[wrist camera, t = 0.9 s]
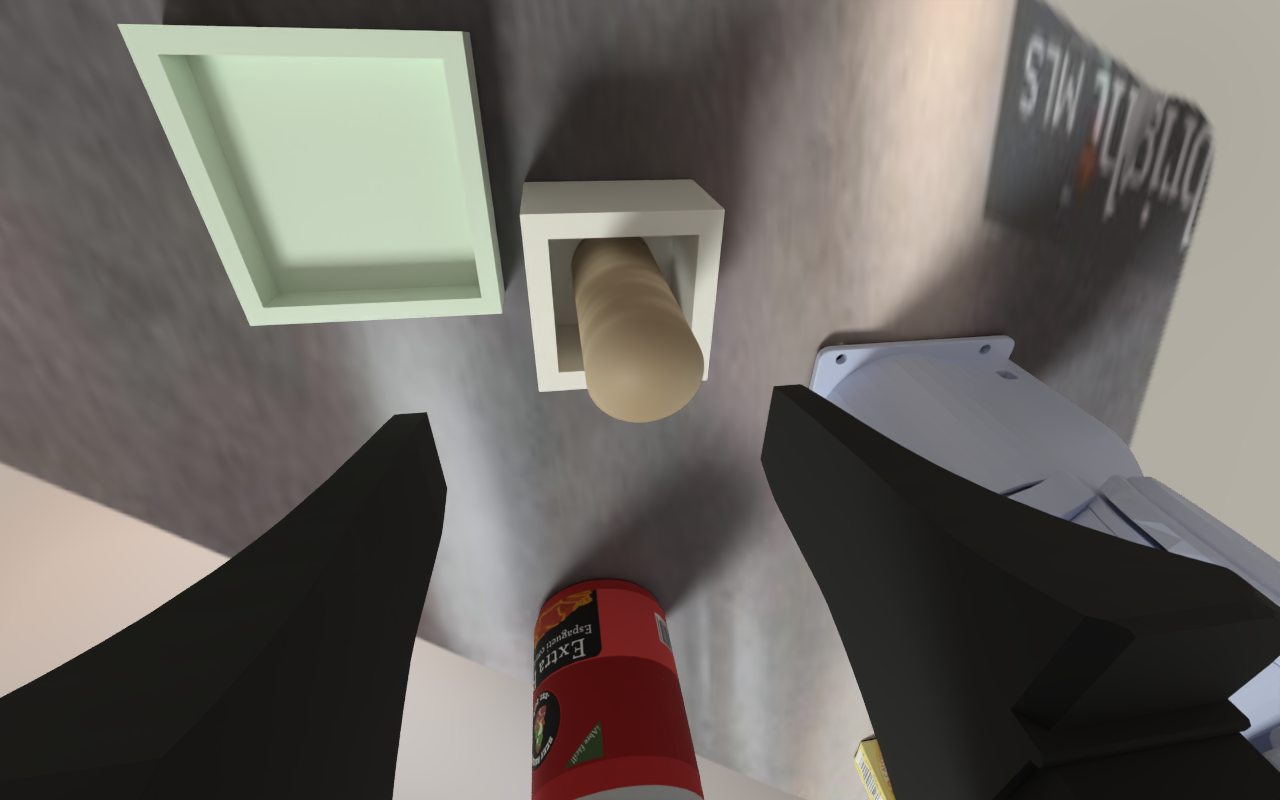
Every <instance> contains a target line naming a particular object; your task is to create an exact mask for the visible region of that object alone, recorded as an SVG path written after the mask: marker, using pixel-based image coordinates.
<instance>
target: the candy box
mask: <svg viewBox="0 0 1280 800" xmlns="http://www.w3.org/2000/svg"><path fill="white" fill-rule="evenodd" d="M854 763H855V766H856V768H857V770H858V772H859V775H860V777H861V779H862V782H863V784H864V786H865V788H866V791H867V793H868V795H869V797H870V800H895V797H894V794H893V790H892V787H891V784H890V780H889V777H888V774H887V770H886V767H885V764H884V761H883V757H882V754H881V751H880V748H879V745H878V742H877V739H874V740H870V741H864V742H861V744H860V746H859V749H858V751H857V754H856V756H855V758H854Z"/></svg>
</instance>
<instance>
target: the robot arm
mask: <svg viewBox="0 0 1280 800" xmlns="http://www.w3.org/2000/svg"><path fill="white" fill-rule="evenodd" d="M1014 344H1015V343H1014V340H1013V339H1011V338H1010V337H1008V336H1006V335H999V336H983V337H967V338H951V339H935V340H919V341H903V342H887V343H871V344H855V345H838V346H828V347H825V348H823V349H821V350H820V351H819V353H818V354H817V357H816V361H815V365H814V369H813V374H812V378H811V382H810V386H809V388H807V387H805V386H803V385H801V384H799V385H786V386H774V387H773V393H772V399H771V404H770V410H769V415H768V421H767V427H766V432H765V438H764V443H763V449H762V455H761V462H762V465H763V468H764V471H765V474H766V477H767V480H768V483H769V486H770V488H771V491H772V494H773V497H774V499H775V501H776V503H777V505H778V507H779V509H780V511H781V513H782V515H783V517H784V519H785V521H786V523H787V525H788V527H789V529H790V531H791V533H792V535H793V537H794V539H795V541H796V542H797V544H798V546H799V548H800V550H801V552H802V554H803V556H804V558H805V560H806V562H807V564H808V566H809V568H810V569H811V571H812V573H813V575H814V577H815V579H816V581H817V583H818V585H819V587H820V589H821V591H822V593H823V596H824V598H825V600H826V602H827V604H828V607H829V609H830V612H831V614H832V617H833V619H834V622H835V624H836V627H837V630H838V632H839V635H840V637H841V640H842V642H843V645H844V647H845V650H846V653H847V656H848V658H849V661H850V664H851V667H852V669H853V672H854V675H855V678H856V680H857V683H858V686H859V689H860V691H861V694H862V697H863V700H864V703H865V706H866V709H867V712H868V715H869V718H870V721H871V724H872V727H873V730H874V733H875V736H876V739H877V742H878V745H879V748H880V751H881V754H882V757H883V761H884V764H885V767H886V770H887V774H888V777H889V780H890V784H891V787H892V790H893V794H894V797H895V800H1280V562H1278V561H1277V560H1276V559H1274V558H1273V557H1271V556H1270V555H1268V554H1267V553H1266V552H1264V551H1263V550H1261V549H1260V548H1258V547H1257V546H1256V545H1254V544H1253V543H1251V542H1250V541H1248V540H1247V539H1245V538H1244V537H1243V536H1241V535H1240V534H1238V533H1237V532H1235V531H1234V530H1232V529H1231V528H1229V527H1228V526H1226V525H1225V524H1223V523H1222V522H1221V521H1219V520H1218V519H1216V518H1215V517H1213V516H1212V515H1210V514H1209V513H1207V512H1206V511H1204V510H1203V509H1201V508H1200V507H1198V506H1197V505H1195V504H1194V503H1192V502H1191V501H1189V500H1188V499H1186V498H1185V497H1183V496H1182V495H1180V494H1178V493H1177V492H1175V491H1174V490H1172V489H1171V488H1169V487H1167V486H1166V485H1164V484H1163V483H1161V482H1159V481H1157V480H1156V479H1154V478H1152V477H1144V476H1143V474H1142V471H1141V469H1140V467H1139V464H1138V462H1137V461H1136V459H1135V457H1134V455H1133V453H1132V452H1131V451H1130V449H1129V448H1128V447H1127V445H1126V444H1125V443H1124V441H1123V440H1122V439H1121V438H1120V437H1119V436H1118V435H1117V434H1116V433H1114V432H1113V431H1112V430H1111V429H1110V428H1108V427H1107V426H1106V425H1104V424H1103V423H1101V422H1100V421H1098V420H1097V419H1095V418H1094V417H1092V416H1091V415H1089V414H1088V413H1087V412H1085V411H1084V410H1082V409H1081V408H1079V407H1078V406H1076V405H1075V404H1073V403H1072V402H1071V401H1069V400H1068V399H1066V398H1065V397H1063V396H1062V395H1060V394H1059V393H1057V392H1056V391H1054V390H1053V389H1052V388H1050V387H1049V386H1047V385H1046V384H1044V383H1043V382H1041V381H1040V380H1038V379H1037V378H1035V377H1034V376H1033V375H1031V374H1030V373H1028V372H1027V371H1025V370H1024V369H1022V368H1021V367H1019V366H1018V365H1017V364H1015V363H1014V362H1012V361H1011V360H1009V356H1010V354H1011V352H1012V350H1013V348H1014ZM983 346H984V347H983ZM982 347H983V348H982ZM981 348H982V349H981ZM841 354H843V355H842V357H841V358H840V359H838V360H836V358H837V357H838V356H839V355H841ZM446 494H447V486H446V482H445V479H444V475H443V471H442V468H441V464H440V460H439V456H438V453H437V449H436V445H435V441H434V438H433V434H432V430H431V426H430V423H429V419H428V415H427V412H424V413H411V414H398V415H394V416H393V417H392V418H391V419H389V420H388V421H387V422H386V423H385V424H384V425H383V426H382V427H381V428H380V429H379V430H378V431H377V432H376V433H375V434H374V435H373V436H372V437H371V438H370V439H369V440H368V441H367V442H366V443H365V444H364V445H363V446H362V447H361V448H360V449H359V450H358V451H357V452H356V453H355V454H354V455H353V456H352V457H351V458H350V459H348V460H347V461H346V462H345V463H344V464H343V465H342V466H341V467H340V468H339V469H338V470H337V471H336V472H335V473H334V474H333V475H332V476H331V477H330V478H329V479H328V480H326V481H325V482H324V483H323V484H322V485H321V486H320V487H319V488H317V489H316V490H315V491H314V492H313V493H312V494H311V495H309V496H308V497H307V498H306V499H305V500H304V501H303V502H301V503H300V504H299V505H298V506H297V507H296V508H295V509H293V510H292V511H291V512H290V513H289V514H288V515H287V516H285V517H284V518H283V519H282V520H281V521H280V522H278V523H277V524H276V525H275V526H273V527H272V528H271V529H270V530H268V531H267V532H266V533H265V534H263V535H262V536H261V537H259V538H258V539H257V540H256V541H254V542H253V543H252V544H250V545H249V546H248V547H246V548H245V549H243V550H242V551H241V552H239V553H238V554H237V555H235V556H234V557H233V558H231V559H230V560H229V561H227V562H226V563H225V564H223V565H222V566H220V567H219V568H218V569H216V570H215V571H213V572H212V573H210V574H209V575H207V576H206V577H204V578H203V579H201V580H200V581H198V582H197V583H195V584H194V585H192V586H190V587H189V588H187V589H186V590H184V591H183V592H181V593H180V594H178V595H177V596H175V597H174V598H172V599H171V600H169V601H168V602H166V603H165V604H163V605H162V606H160V607H159V608H157V609H156V610H154V611H153V612H151V613H150V614H148V615H146V616H145V617H143V618H141V619H140V620H139V621H137V622H135V623H133V624H131V625H130V626H128V627H126V628H125V629H123V630H122V631H120V632H118V633H116V634H115V635H113V636H112V637H110V638H108V639H106V640H105V641H103V642H101V643H100V644H98V645H96V646H94V647H92V648H91V649H89V650H87V651H86V652H84V653H82V654H80V655H78V656H77V657H75V658H73V659H72V660H70V661H68V662H66V663H64V664H63V665H61V666H59V667H57V668H55V669H54V670H52V671H50V672H48V673H46V674H44V675H43V676H41V677H39V678H37V679H35V680H34V681H32V682H30V683H28V684H26V685H24V686H22V687H20V688H18V689H16V690H15V691H12V692H11V693H9V694H7V695H5V696H3V697H1V698H0V800H392V797H393V788H394V779H395V770H396V761H397V754H398V747H399V739H400V731H401V724H402V715H403V709H404V702H405V695H406V688H407V682H408V675H409V668H410V662H411V657H412V652H413V647H414V642H415V638H416V633H417V629H418V626H419V622H420V618H421V614H422V610H423V606H424V602H425V598H426V595H427V591H428V587H429V583H430V579H431V575H432V571H433V567H434V563H435V559H436V555H437V551H438V547H439V543H440V539H441V535H442V529H443V521H444V513H445V504H446Z"/></svg>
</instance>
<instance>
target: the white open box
mask: <svg viewBox="0 0 1280 800" xmlns="http://www.w3.org/2000/svg"><path fill="white" fill-rule="evenodd" d="M724 213H725V209H724V208H723V207H722V206H720V205H719V204H718V203H717V202H716V201H715V200H714V199H713V198H712V197H711V196H710V195H709V194H708V193H707V192H705V191H704V190H703V189H702V188H701V187H700V186H699V185H698V184H697V183H696V182H695V181H694V180H693V179H687V180H624V181H562V182H524V184H523V192H522V200H521V208H520V222H521V231H522V240H523V249H524V258H525V268H526V277H527V286H528V295H529V304H530V313H531V322H532V332H533V341H534V350H535V359H536V368H537V377H538V387H539V392H544V391H559V390H573V389H587V385H586V378H585V370H584V363H583V355H582V347H581V340H580V332H579V324H578V317H577V309H576V301H575V294H574V286H573V279H572V271H571V263H572V258H573V254H574V252H575V250H576V248H577V246H578V244H579V243H580V242H581V241H582V240H583V239H584V238H607V237H641V238H642V239H643V240H644V241H645V242H646V244H647V245H648V247H649V249H650V251H651V253H652V255H653V257H654V259H655V261H656V263H657V265H658V266H659V268H660V270H661V272H662V274H663V276H664V278H665V280H666V282H667V284H668V286H669V288H670V290H671V292H672V294H673V296H674V298H675V299H676V301H677V303H678V305H679V307H680V309H681V311H682V313H683V315H684V317H685V319H686V321H687V323H688V325H689V327H690V329H691V330H692V332H693V334H694V336H695V338H696V340H697V342H698V344H699V346H700V348H701V350H702V354H703V358H704V374H703V378H702V381H703V380H707V376H708V367H709V357H710V348H711V338H712V328H713V319H714V309H715V300H716V290H717V280H718V271H719V261H720V252H721V242H722V232H723V223H724Z"/></svg>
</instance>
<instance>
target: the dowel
mask: <svg viewBox="0 0 1280 800" xmlns="http://www.w3.org/2000/svg"><path fill="white" fill-rule="evenodd" d="M571 271H572V279H573V286H574V294H575V301H576V309H577V317H578V324H579V332H580V340H581V347H582V355H583V363H584V370H585V378H586V385H587V389H588V392H589V394H590V396H591V398H592V399H593V401H594V402H595V404H596V405H597V406H598V407H599V408H600V409H601V410H603V411H604V412H605V413H607V414H608V415H610V416H612V417H614V418H617V419H620V420H623V421H628V422H651V421H655V420H659V419H662V418H665V417H667V416H669V415H671V414H673V413H675V412H677V411H678V410H680V409H681V408H682V407H684V406H685V405H686V404H687V403H688V402H689V401H690V400H691V399H692V397H693V396H694V395H695V393H696V392H697V390H698V388H699V386H700V384H701V381H702V378H703V374H704V358H703V354H702V350H701V348H700V346H699V344H698V342H697V340H696V338H695V336H694V334H693V332H692V330H691V329H690V327H689V325H688V323H687V321H686V319H685V317H684V315H683V313H682V311H681V309H680V307H679V305H678V303H677V301H676V299H675V298H674V296H673V294H672V292H671V290H670V288H669V286H668V284H667V282H666V280H665V278H664V276H663V274H662V272H661V270H660V268H659V266H658V265H657V263H656V261H655V259H654V257H653V255H652V253H651V251H650V249H649V247H648V245H647V244H646V242H645V241H644V240H643V239H642V238H641V237H607V238H584V239H583V240H582V241H581V242H580V243H579V244H578V246H577V248H576V250H575V252H574V254H573V258H572V263H571Z"/></svg>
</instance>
